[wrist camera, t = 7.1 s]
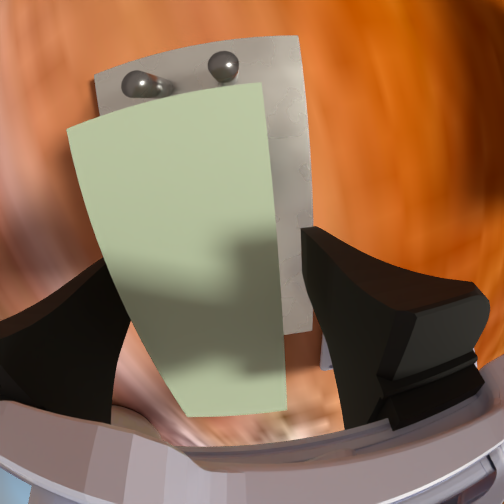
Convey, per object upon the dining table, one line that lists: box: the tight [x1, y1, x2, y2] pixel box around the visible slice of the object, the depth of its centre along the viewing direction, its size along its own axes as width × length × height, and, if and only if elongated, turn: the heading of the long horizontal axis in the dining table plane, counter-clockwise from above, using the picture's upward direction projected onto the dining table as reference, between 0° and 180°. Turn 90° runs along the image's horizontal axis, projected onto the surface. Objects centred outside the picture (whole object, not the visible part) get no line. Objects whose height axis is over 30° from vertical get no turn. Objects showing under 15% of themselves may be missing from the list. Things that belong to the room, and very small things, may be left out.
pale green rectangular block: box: [66, 82, 287, 417], centre depth 10 cm, size 4×12×6 cm, turn 6°
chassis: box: [94, 36, 313, 335], centre depth 13 cm, size 10×18×5 cm, turn 7°
